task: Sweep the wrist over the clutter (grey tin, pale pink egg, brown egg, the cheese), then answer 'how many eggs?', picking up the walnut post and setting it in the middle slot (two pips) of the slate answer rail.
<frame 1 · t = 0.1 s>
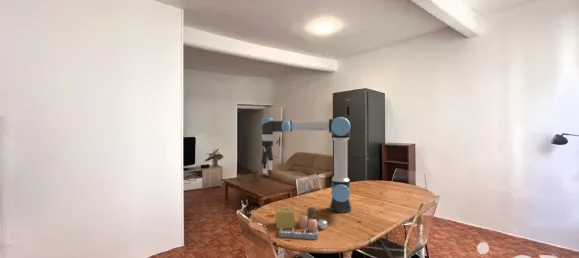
hand: (267, 171, 181), 28 cm above the table, fingers open, 13 cm apart
pale pink egg: (312, 230, 150), on the table
walnut post: (311, 221, 164), on the table
brown egg: (303, 226, 156), on the table
cheese: (284, 226, 157), on the table
answer rail: (298, 235, 144), on the table
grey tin: (322, 228, 154), on the table
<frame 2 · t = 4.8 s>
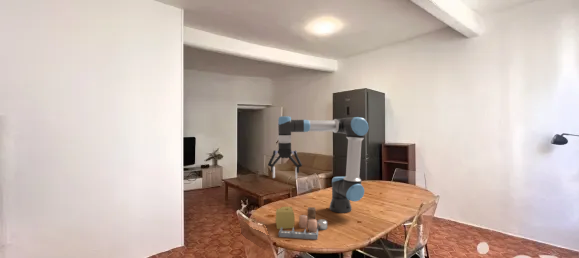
hand: (285, 178, 157), 28 cm above the table, fingers open, 13 cm apart
nothing on the table moved.
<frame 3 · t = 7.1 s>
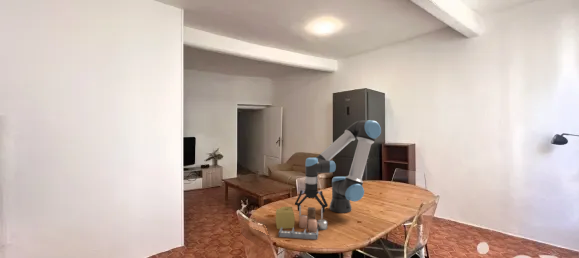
hand: (310, 217, 164), 3 cm above the table, fingers open, 13 cm apart
nothing on the table moved.
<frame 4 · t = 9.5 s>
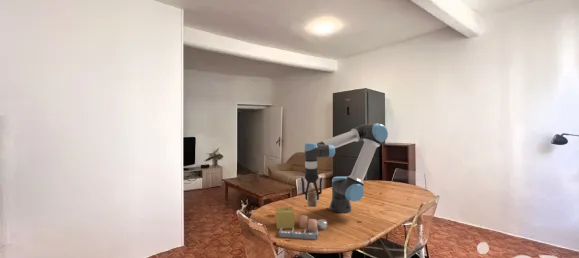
hand: (312, 204, 164), 10 cm above the table, fingers closed on walnut post, 4 cm apart
walnut post: (312, 205, 164), point 10 cm above the table, touching gripper
everything else where it was.
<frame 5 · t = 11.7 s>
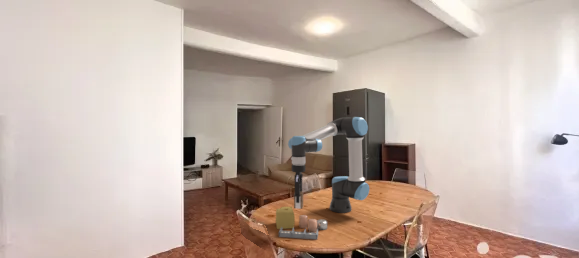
hand: (298, 206, 144), 15 cm above the table, fingers closed on walnut post, 4 cm apart
walnut post: (298, 207, 144), point 15 cm above the table, touching gripper
everything else where it was.
when the fingers open (2 cm above the table, at t = 14.5 s): walnut post drops 2 cm, resting on answer rail.
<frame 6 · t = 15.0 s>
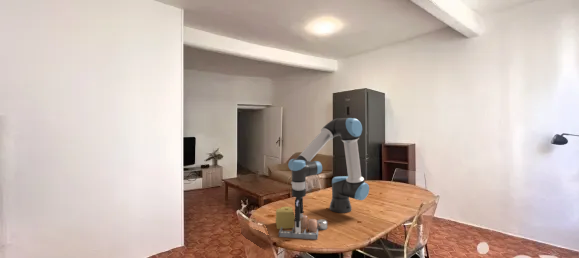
hand: (299, 228, 146), 3 cm above the table, fingers open, 9 cm apart
walnut post: (298, 233, 145), resting on answer rail
everything else where it was.
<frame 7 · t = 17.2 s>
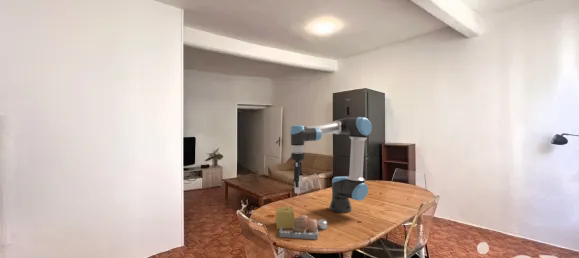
hand: (298, 189, 150), 23 cm above the table, fingers open, 13 cm apart
nothing on the table moved.
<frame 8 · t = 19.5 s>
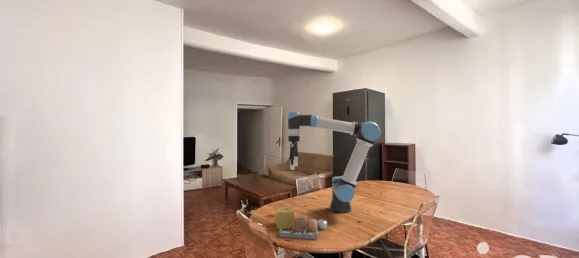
hand: (294, 167, 173), 32 cm above the table, fingers open, 13 cm apart
nothing on the table moved.
at the end: walnut post 0.8 cm off-centre on the answer rail, point 0.4 cm above the answer rail's base; walnut post tilted 0°; the gripper is holding nothing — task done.
